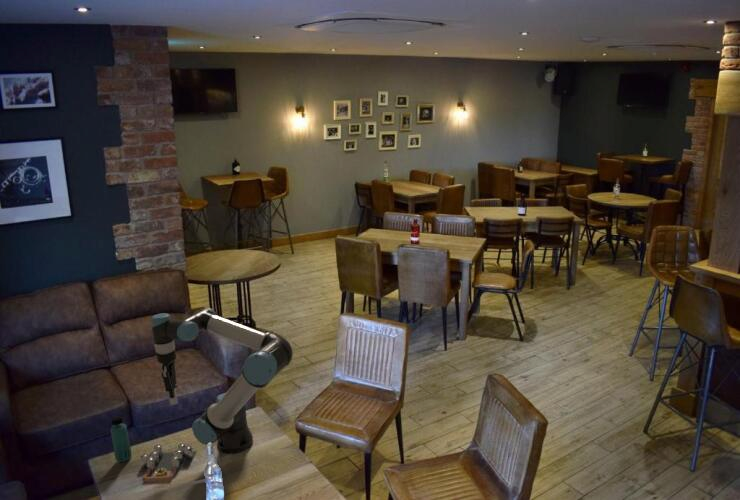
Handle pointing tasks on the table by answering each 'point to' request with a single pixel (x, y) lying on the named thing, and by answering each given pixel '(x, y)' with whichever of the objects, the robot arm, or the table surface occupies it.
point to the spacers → (158, 454)
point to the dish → (163, 478)
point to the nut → (161, 472)
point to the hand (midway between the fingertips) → (174, 403)
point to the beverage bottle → (120, 440)
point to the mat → (166, 462)
